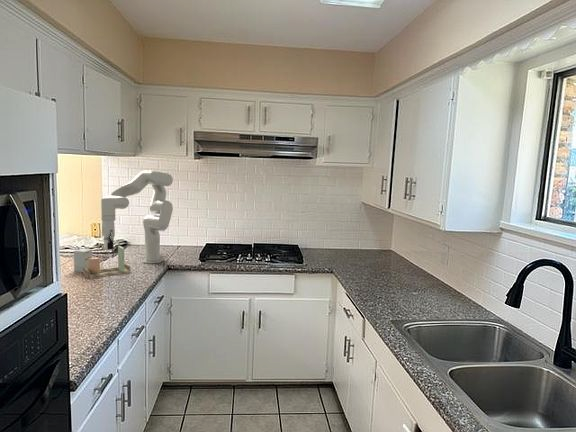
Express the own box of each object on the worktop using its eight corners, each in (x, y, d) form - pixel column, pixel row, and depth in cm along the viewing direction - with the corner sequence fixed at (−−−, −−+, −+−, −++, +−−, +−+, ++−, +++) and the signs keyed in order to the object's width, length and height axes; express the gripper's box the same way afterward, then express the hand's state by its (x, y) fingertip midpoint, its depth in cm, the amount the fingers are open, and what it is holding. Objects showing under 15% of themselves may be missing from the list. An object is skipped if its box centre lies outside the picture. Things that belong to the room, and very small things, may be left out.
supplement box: (84, 272, 244) (84, 251, 242) (73, 271, 245) (73, 250, 244) (92, 269, 251) (92, 249, 249) (82, 268, 252) (81, 248, 251)
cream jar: (102, 248, 243) (102, 237, 242) (112, 247, 246) (112, 236, 246) (105, 250, 238) (105, 238, 238) (115, 249, 242) (115, 238, 241)
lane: (124, 268, 255) (124, 262, 255) (130, 272, 247) (130, 265, 247) (83, 274, 240) (82, 267, 239) (87, 278, 232) (87, 271, 231)
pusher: (123, 268, 253) (123, 245, 252) (127, 271, 248) (127, 247, 246) (118, 269, 251) (117, 246, 250) (122, 272, 245) (122, 248, 244)
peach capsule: (98, 273, 243) (98, 256, 242) (101, 275, 239) (101, 258, 237) (86, 274, 239) (86, 257, 238) (89, 277, 234) (89, 260, 233)
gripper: (97, 216, 244) (98, 246, 246) (106, 220, 231) (106, 251, 233) (110, 216, 249) (111, 245, 251) (119, 219, 236) (120, 250, 238)
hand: (108, 247), depth 242 cm, fingers closed on cream jar, 5 cm apart
